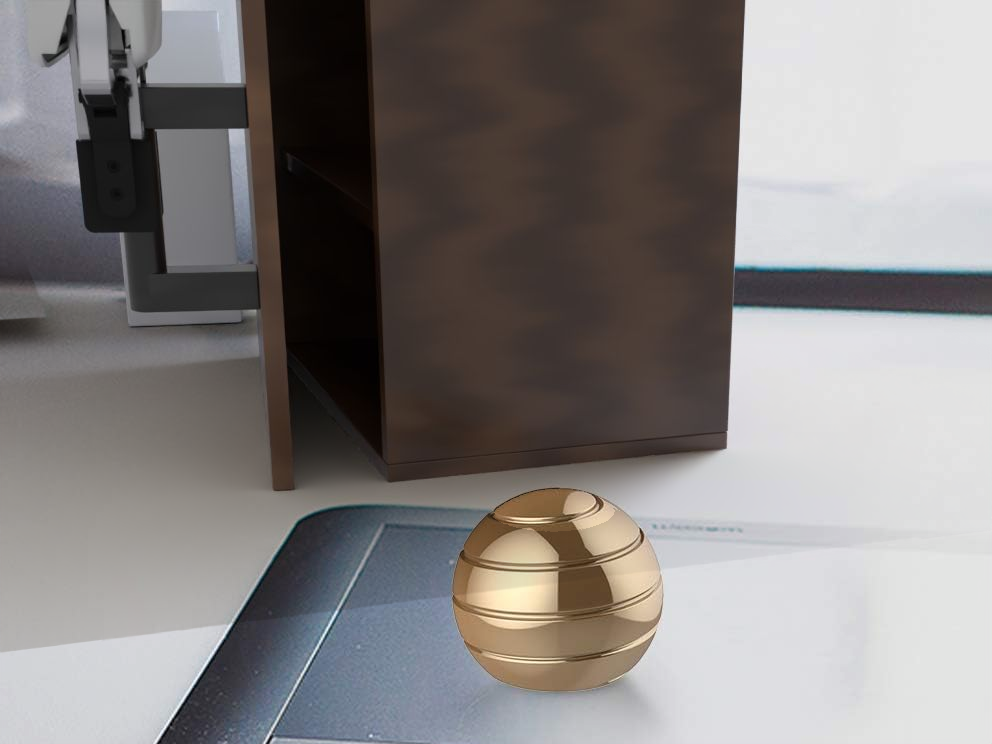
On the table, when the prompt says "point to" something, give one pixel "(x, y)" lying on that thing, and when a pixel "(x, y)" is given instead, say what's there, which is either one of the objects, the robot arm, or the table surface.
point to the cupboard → (509, 224)
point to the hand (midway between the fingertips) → (125, 222)
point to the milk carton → (192, 166)
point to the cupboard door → (262, 279)
